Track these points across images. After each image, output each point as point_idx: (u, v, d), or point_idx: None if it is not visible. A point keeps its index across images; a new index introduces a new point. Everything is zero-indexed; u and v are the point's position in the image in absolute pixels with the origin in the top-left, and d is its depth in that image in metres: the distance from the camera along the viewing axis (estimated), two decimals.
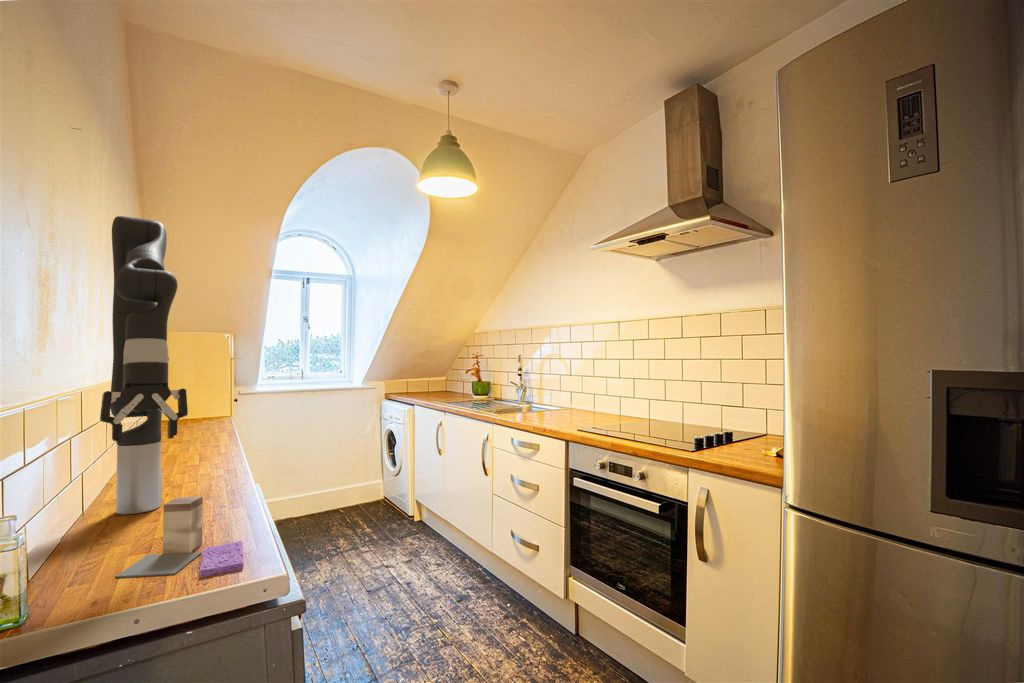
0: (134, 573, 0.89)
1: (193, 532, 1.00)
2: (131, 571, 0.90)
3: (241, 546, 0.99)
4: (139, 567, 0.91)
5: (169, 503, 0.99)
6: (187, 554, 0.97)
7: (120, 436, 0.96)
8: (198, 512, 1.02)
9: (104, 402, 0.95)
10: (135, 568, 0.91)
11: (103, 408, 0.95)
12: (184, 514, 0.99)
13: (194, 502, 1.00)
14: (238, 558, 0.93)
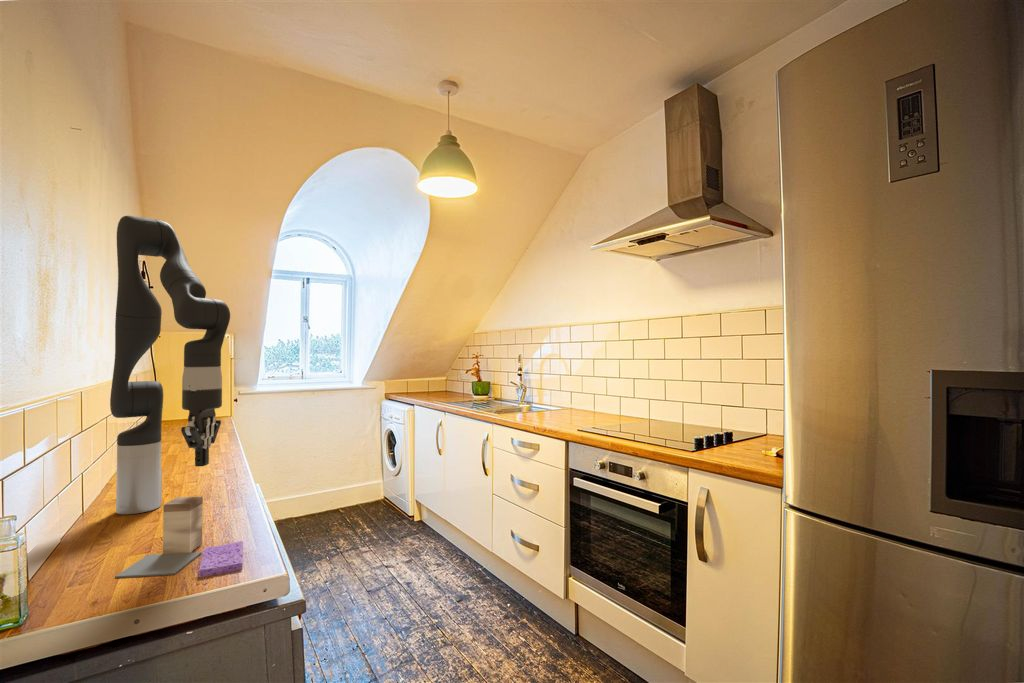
0: (134, 573, 0.89)
1: (193, 532, 1.00)
2: (131, 571, 0.90)
3: (241, 546, 0.99)
4: (139, 567, 0.91)
5: (169, 503, 0.99)
6: (187, 554, 0.97)
7: (206, 459, 1.08)
8: (198, 512, 1.02)
9: (196, 436, 1.04)
10: (135, 568, 0.91)
11: (198, 440, 1.05)
12: (184, 514, 0.99)
13: (194, 502, 1.00)
14: (238, 558, 0.93)
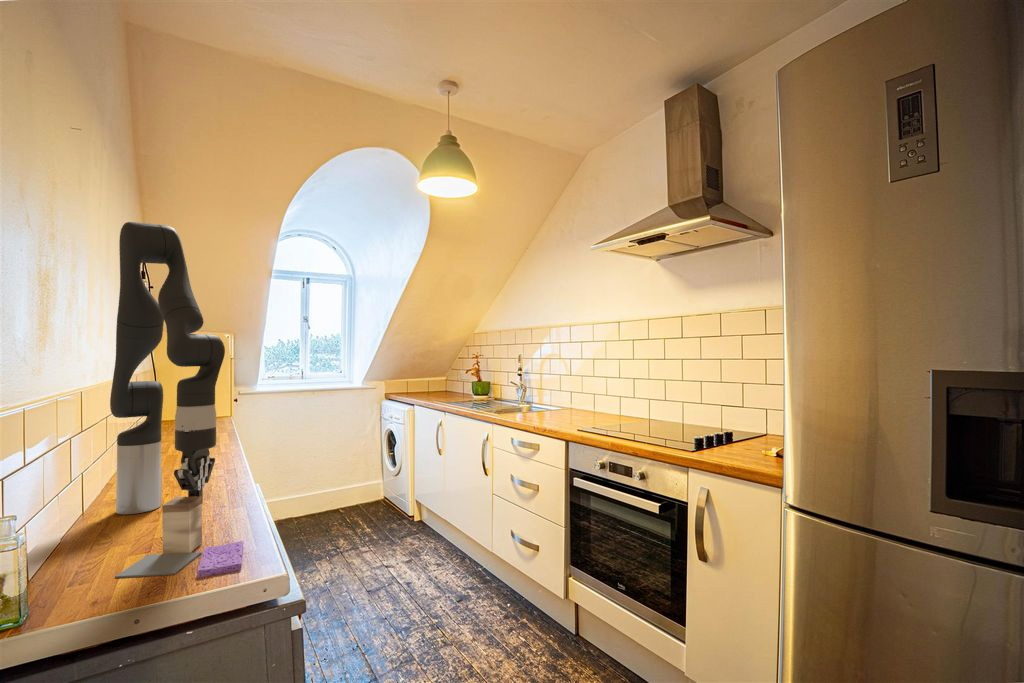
0: (134, 573, 0.89)
1: (193, 532, 1.00)
2: (131, 571, 0.90)
3: (241, 546, 0.99)
4: (139, 567, 0.91)
5: (168, 504, 0.99)
6: (187, 554, 0.97)
7: None
8: (197, 511, 1.02)
9: (189, 478, 1.01)
10: (135, 568, 0.91)
11: (191, 482, 1.01)
12: (183, 515, 0.98)
13: (193, 502, 1.00)
14: (237, 558, 0.93)
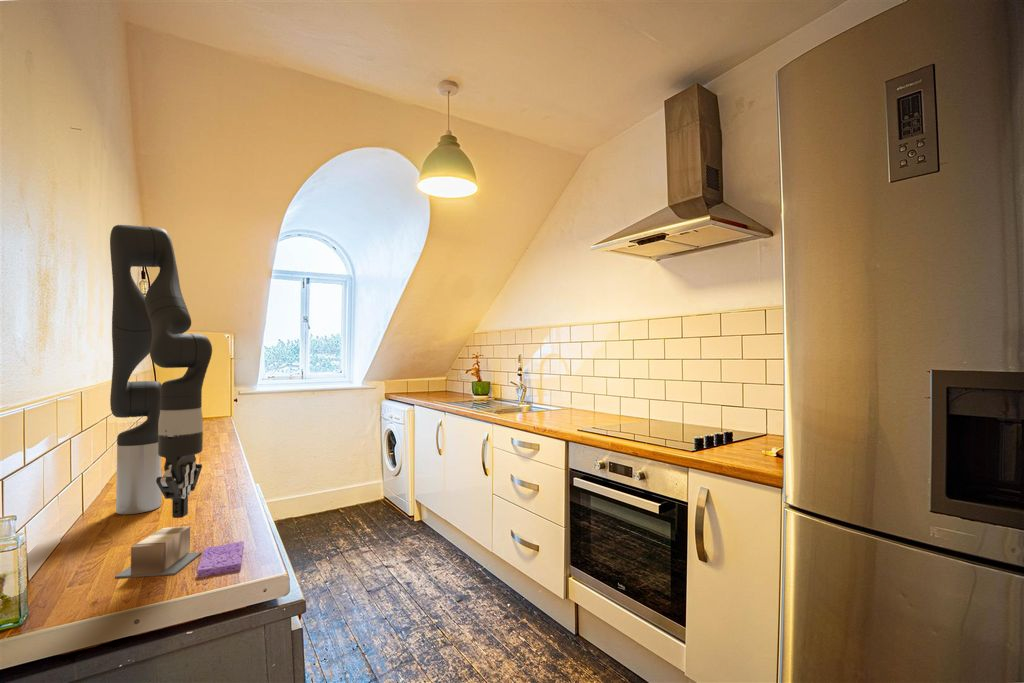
0: None
1: (180, 550, 0.95)
2: None
3: (241, 546, 0.99)
4: None
5: (135, 571, 0.88)
6: (187, 554, 0.97)
7: (185, 510, 0.99)
8: (169, 549, 0.92)
9: (173, 486, 0.95)
10: None
11: (175, 490, 0.96)
12: None
13: (161, 563, 0.89)
14: (236, 558, 0.93)
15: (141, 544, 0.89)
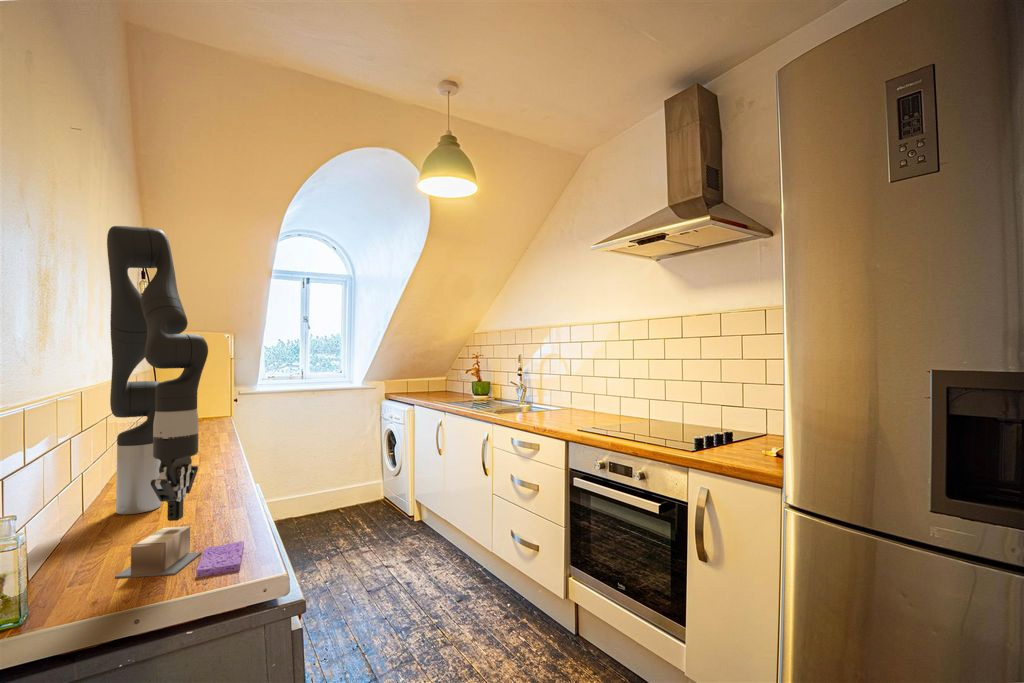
0: None
1: (180, 550, 0.95)
2: None
3: (241, 547, 0.99)
4: None
5: (135, 571, 0.88)
6: (187, 554, 0.97)
7: (180, 512, 0.98)
8: (169, 549, 0.92)
9: (168, 489, 0.93)
10: None
11: (170, 493, 0.94)
12: None
13: (161, 563, 0.89)
14: (236, 558, 0.93)
15: (141, 544, 0.89)
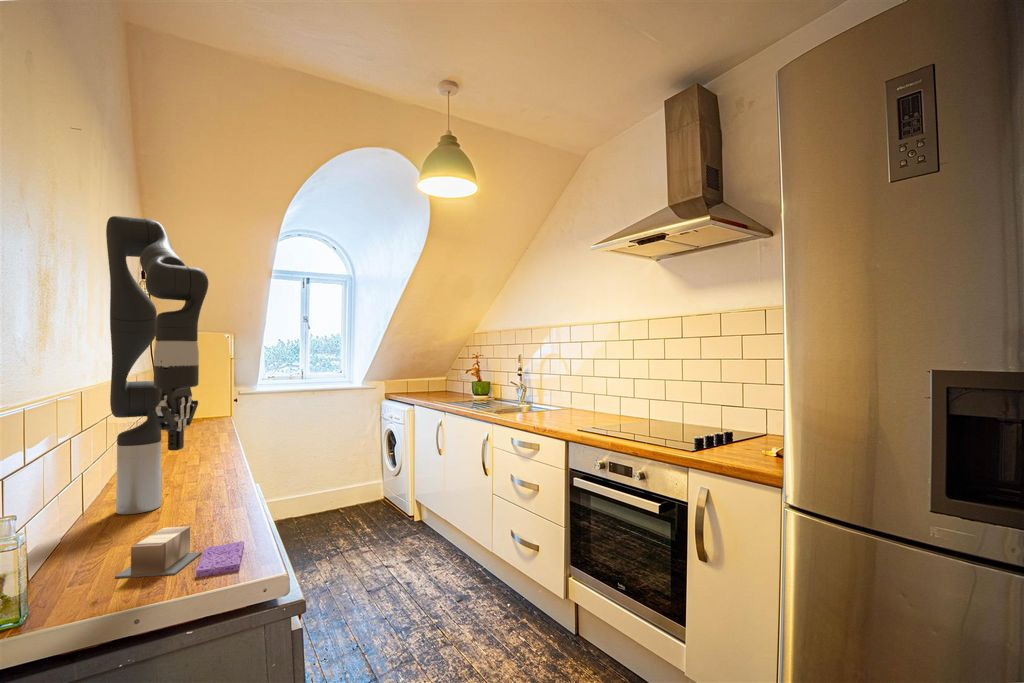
0: None
1: (180, 550, 0.95)
2: None
3: (241, 546, 0.99)
4: None
5: (135, 571, 0.88)
6: (187, 554, 0.97)
7: (180, 443, 0.98)
8: (169, 549, 0.92)
9: (168, 416, 0.94)
10: None
11: (170, 421, 0.95)
12: None
13: (161, 563, 0.89)
14: (236, 559, 0.93)
15: (141, 544, 0.89)
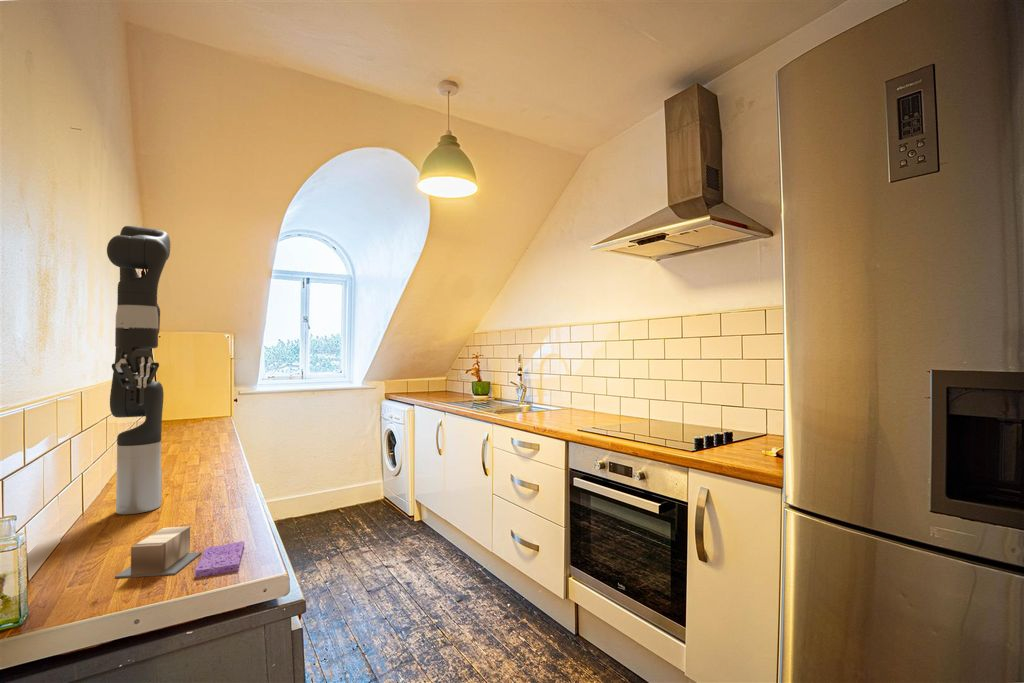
0: None
1: (180, 550, 0.95)
2: None
3: (241, 547, 0.98)
4: None
5: (135, 571, 0.88)
6: (187, 554, 0.97)
7: (140, 399, 1.08)
8: (169, 549, 0.92)
9: (128, 373, 1.03)
10: None
11: (130, 377, 1.04)
12: None
13: (161, 563, 0.89)
14: (235, 559, 0.93)
15: (141, 544, 0.89)
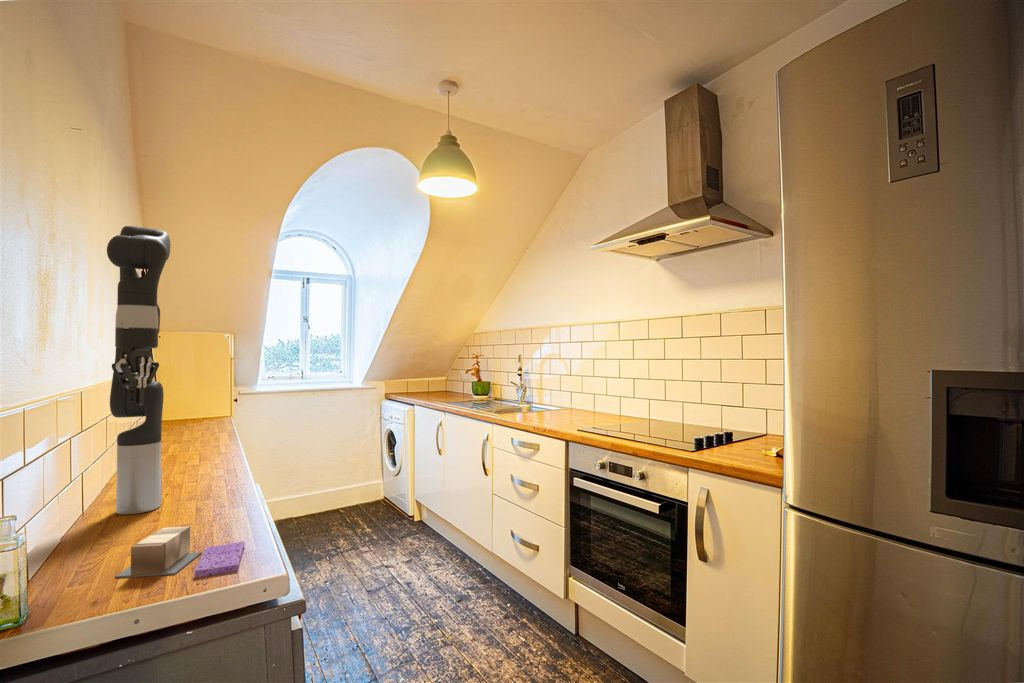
0: None
1: (180, 550, 0.95)
2: None
3: (241, 547, 0.98)
4: None
5: (135, 571, 0.88)
6: (187, 554, 0.97)
7: (140, 399, 1.08)
8: (169, 549, 0.92)
9: (128, 373, 1.03)
10: None
11: (130, 377, 1.04)
12: None
13: (161, 563, 0.89)
14: (235, 559, 0.93)
15: (141, 544, 0.89)
